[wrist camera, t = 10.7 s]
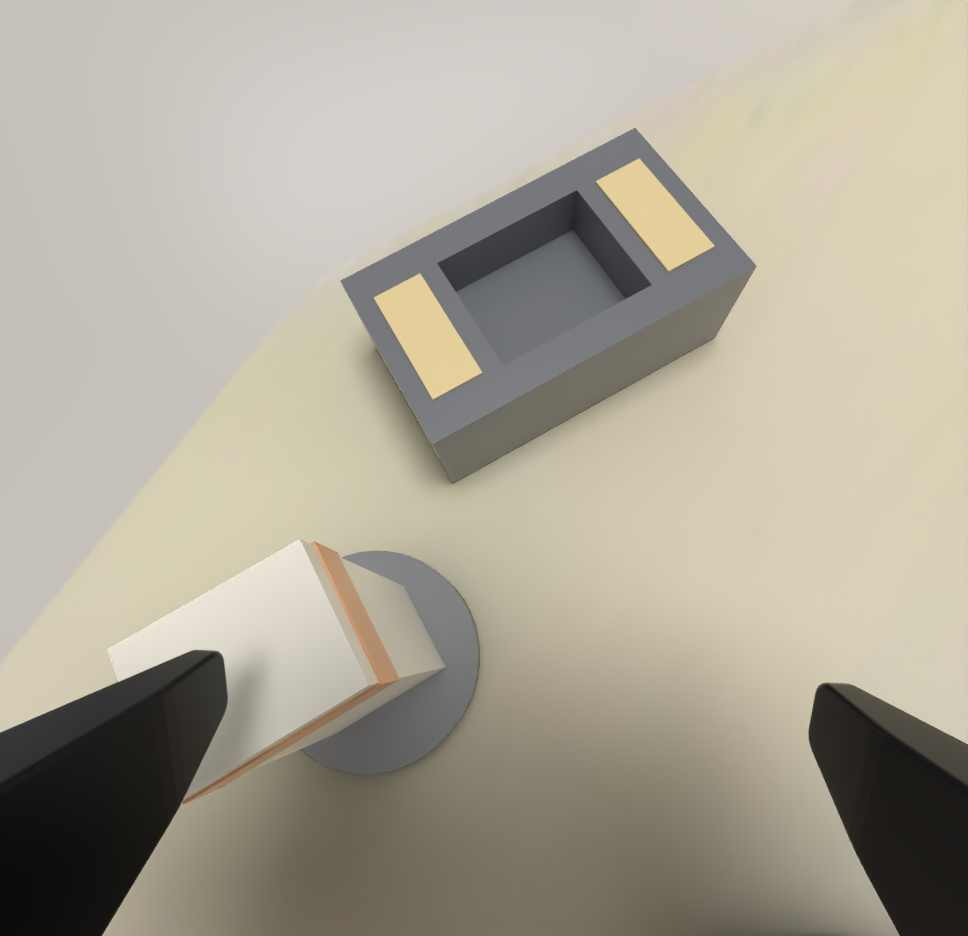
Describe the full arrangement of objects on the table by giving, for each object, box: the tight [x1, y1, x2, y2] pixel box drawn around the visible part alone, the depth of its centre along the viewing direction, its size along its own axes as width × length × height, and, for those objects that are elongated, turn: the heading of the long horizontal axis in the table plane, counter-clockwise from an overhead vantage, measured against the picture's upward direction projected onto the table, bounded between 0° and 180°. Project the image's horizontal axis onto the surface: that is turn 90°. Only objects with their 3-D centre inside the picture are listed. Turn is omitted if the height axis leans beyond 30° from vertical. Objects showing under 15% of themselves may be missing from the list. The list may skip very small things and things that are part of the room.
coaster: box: [301, 551, 480, 775], centre depth 19 cm, size 7×7×2 cm
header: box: [341, 128, 756, 483], centre depth 21 cm, size 7×12×5 cm, turn 119°
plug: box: [107, 539, 446, 804], centre depth 14 cm, size 3×4×9 cm
